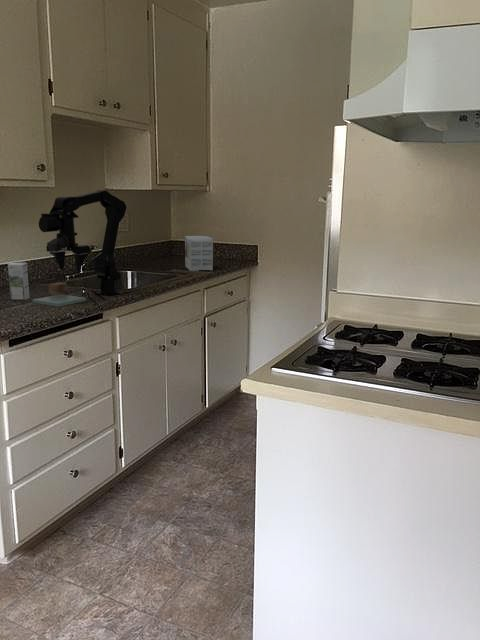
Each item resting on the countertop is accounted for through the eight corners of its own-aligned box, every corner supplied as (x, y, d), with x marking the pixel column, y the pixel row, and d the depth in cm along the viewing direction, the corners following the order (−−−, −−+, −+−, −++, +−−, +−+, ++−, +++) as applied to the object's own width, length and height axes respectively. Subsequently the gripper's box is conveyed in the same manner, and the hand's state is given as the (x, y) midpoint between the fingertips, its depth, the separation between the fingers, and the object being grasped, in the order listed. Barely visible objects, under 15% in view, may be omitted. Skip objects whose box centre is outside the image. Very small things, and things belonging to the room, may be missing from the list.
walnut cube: (59, 294, 232) (58, 282, 231) (67, 295, 230) (66, 283, 228) (49, 296, 228) (48, 283, 227) (57, 297, 225) (57, 285, 224)
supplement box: (184, 267, 322) (184, 235, 318) (206, 266, 326) (206, 235, 322) (189, 271, 306) (189, 238, 302) (213, 270, 310) (213, 238, 306)
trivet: (61, 297, 225) (61, 294, 225) (85, 300, 218) (85, 297, 218) (32, 302, 213) (32, 299, 213) (57, 306, 206) (57, 303, 206)
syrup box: (30, 297, 223) (27, 261, 220) (24, 300, 217) (22, 263, 214) (15, 297, 223) (12, 261, 220) (10, 300, 217) (7, 263, 214)
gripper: (33, 231, 211) (37, 271, 214) (67, 233, 201) (71, 275, 205) (56, 228, 220) (59, 267, 224) (90, 230, 210) (93, 271, 214)
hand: (70, 270), depth 216 cm, fingers open, 9 cm apart
